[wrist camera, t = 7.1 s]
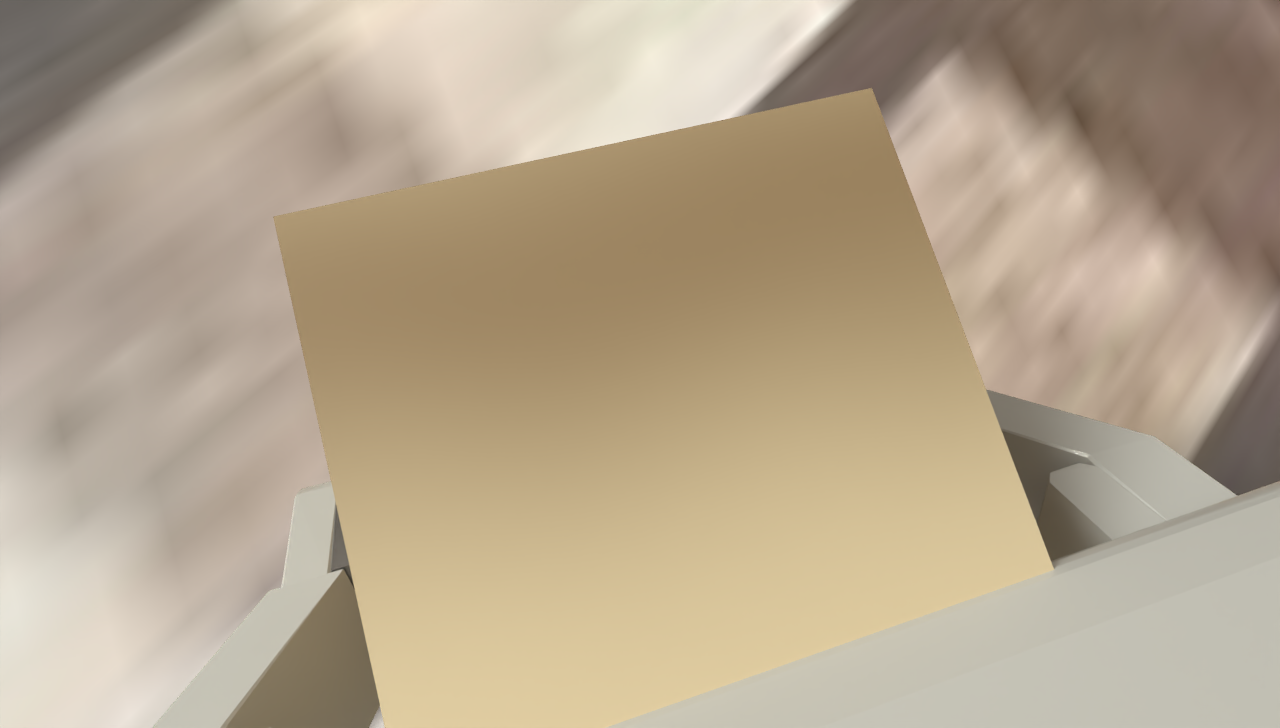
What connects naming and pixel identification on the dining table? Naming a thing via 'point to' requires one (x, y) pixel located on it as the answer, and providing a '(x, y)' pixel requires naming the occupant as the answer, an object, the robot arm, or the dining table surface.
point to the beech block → (647, 419)
